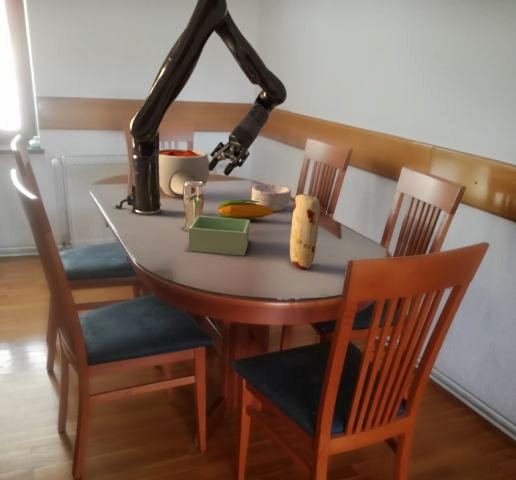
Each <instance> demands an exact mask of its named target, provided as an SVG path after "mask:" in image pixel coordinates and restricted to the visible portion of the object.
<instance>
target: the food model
mask: <svg viewBox="0 0 516 480" xmlns="http://www.w3.org/2000/svg"><path fill="white" fill-rule="evenodd" d="M320 217H321V204H320V199H318V198H317V197H316V196H311V195H309V194H307V193H305V194H297V195H296V196H295V198H294V205H293V212H292V221H291V231H290V242H289V257H290V261H291V264H292V265H293V266H294V267H296V268H298V269H300V270H306V269H307V270H308V269H310V268H311V265H312V264H313V262H314V260H315V256H316V255H315V254H316V248H317V240H318V235H319V234H318V233H319V224H320Z"/></svg>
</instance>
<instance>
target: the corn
mask: <svg viewBox="0 0 516 480" xmlns="http://www.w3.org/2000/svg"><path fill="white" fill-rule="evenodd" d="M254 202H259V201H254V200H252V199H229V200H226V201H223V202H222V203H221V204H220V206H219V207H218V213H219V215H220V216H221V218H231V219H243V220H250V222H252V221H256V220H257V219H261V218H264V217H267V216H271V215H272V214H273V213H274V211H273V210H272V209H270V208H269V207H268V206H264V205H259V204H256V203H254Z"/></svg>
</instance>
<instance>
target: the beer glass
mask: <svg viewBox="0 0 516 480" xmlns="http://www.w3.org/2000/svg"><path fill="white" fill-rule="evenodd" d="M205 196H206V195H205V186H204V183H202V182H197V181H187V182H184V186H183V198H182V202H183V209H184V215H185V222H184V227H183V228H184V231H187V232H189V227H190V226H191V225H192V223H193V222H194V220H195V219H196V217H197V216H203V211H204V206H205Z"/></svg>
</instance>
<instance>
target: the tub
mask: <svg viewBox="0 0 516 480" xmlns="http://www.w3.org/2000/svg"><path fill="white" fill-rule="evenodd" d="M250 224H251V221H250V220H243V219H231V218H224V217H217V216H206V215H202V216H197V217H196V219H195V220H194V222H193V223H192V225H191V226H190V227H189V231H188V251H189V252H199V253H211V254H223V255H234V256H235V255H236V256H245V255H246V252H247V249H248V245H249V242H250Z"/></svg>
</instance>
